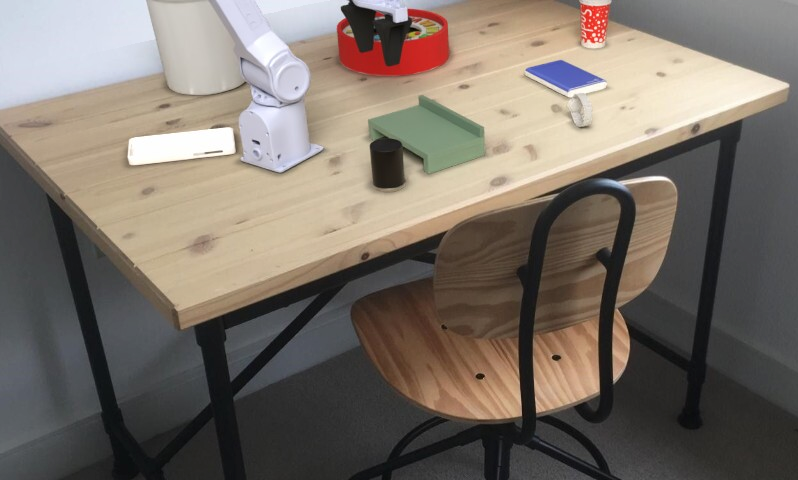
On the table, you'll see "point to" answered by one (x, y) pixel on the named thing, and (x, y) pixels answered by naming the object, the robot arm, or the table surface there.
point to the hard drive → (565, 78)
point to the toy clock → (419, 50)
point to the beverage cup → (594, 22)
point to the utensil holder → (194, 47)
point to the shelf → (432, 134)
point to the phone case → (180, 146)
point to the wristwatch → (576, 105)
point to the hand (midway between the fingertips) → (379, 57)
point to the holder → (387, 165)
